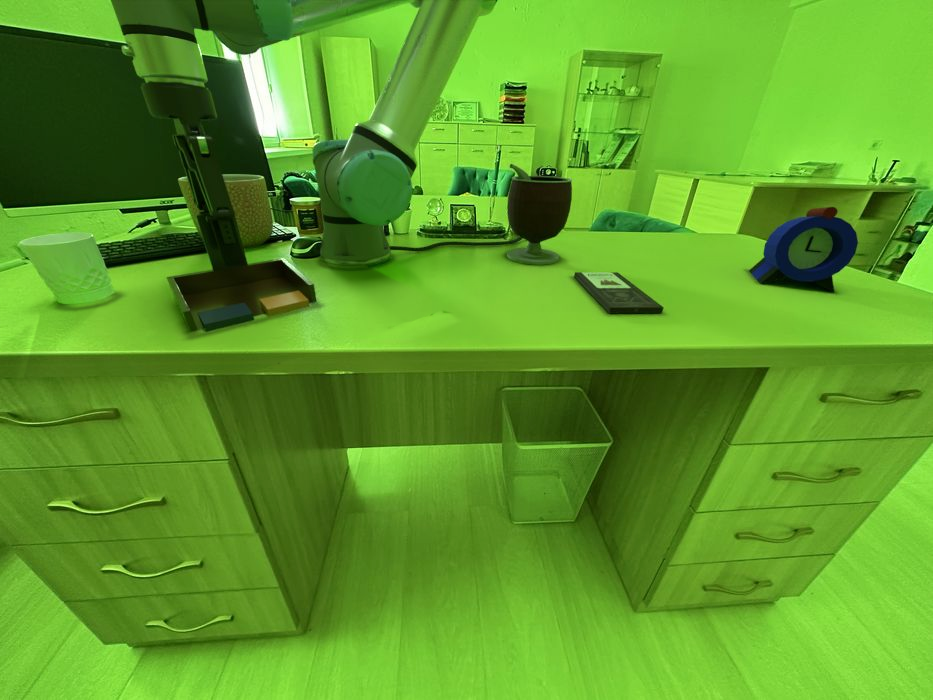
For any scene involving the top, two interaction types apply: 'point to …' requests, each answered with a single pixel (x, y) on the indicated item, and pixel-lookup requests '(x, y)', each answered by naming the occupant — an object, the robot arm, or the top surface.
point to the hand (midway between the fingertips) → (228, 257)
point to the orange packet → (284, 303)
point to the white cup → (70, 266)
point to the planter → (242, 207)
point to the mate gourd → (537, 214)
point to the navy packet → (225, 316)
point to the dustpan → (233, 281)
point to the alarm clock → (808, 249)
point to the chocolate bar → (617, 293)
